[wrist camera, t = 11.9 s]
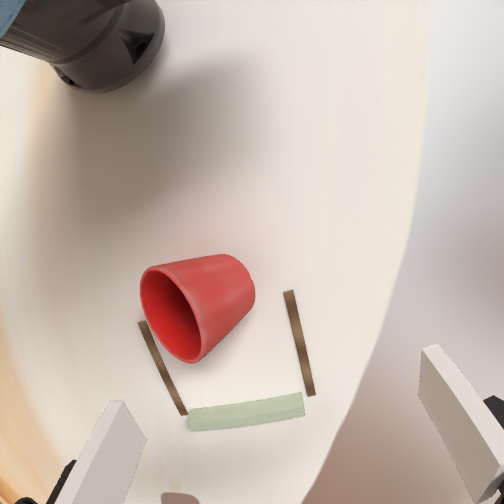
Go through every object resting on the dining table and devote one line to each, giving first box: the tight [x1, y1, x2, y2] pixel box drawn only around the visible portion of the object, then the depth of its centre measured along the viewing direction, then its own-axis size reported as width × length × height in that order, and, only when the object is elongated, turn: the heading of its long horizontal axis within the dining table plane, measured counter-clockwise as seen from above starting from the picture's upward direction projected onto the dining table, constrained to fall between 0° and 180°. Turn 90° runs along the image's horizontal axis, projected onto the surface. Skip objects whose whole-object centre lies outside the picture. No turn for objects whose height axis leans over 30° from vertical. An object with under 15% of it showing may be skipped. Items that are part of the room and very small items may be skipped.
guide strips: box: [138, 290, 316, 416], centre depth 44 cm, size 18×22×1 cm
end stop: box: [187, 392, 305, 432], centre depth 44 cm, size 2×18×4 cm, turn 105°
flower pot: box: [140, 254, 255, 363], centre depth 35 cm, size 11×11×10 cm
